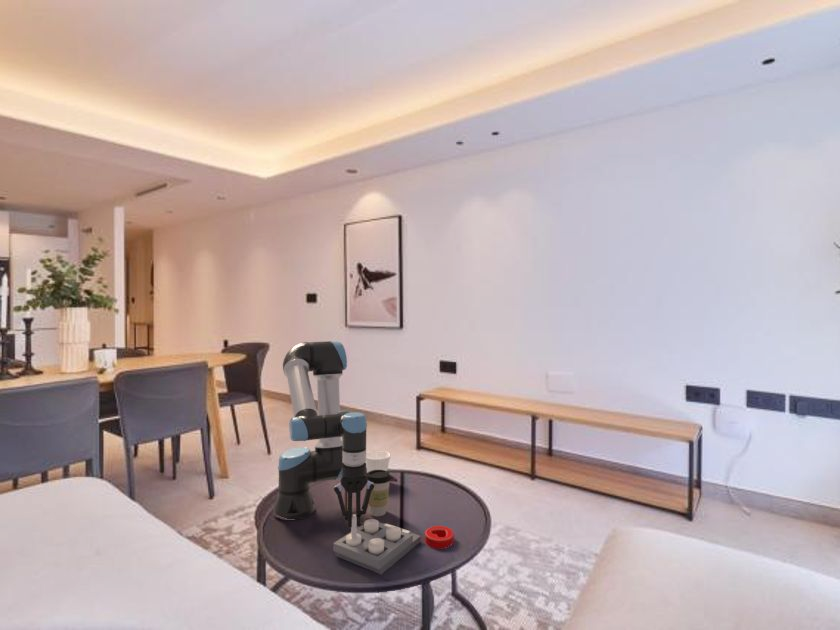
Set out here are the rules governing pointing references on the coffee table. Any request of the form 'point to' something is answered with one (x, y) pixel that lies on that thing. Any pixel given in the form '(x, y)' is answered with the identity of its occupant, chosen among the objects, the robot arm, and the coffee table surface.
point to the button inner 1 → (353, 540)
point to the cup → (377, 460)
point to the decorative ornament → (439, 537)
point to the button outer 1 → (376, 546)
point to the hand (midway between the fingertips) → (353, 536)
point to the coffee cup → (378, 491)
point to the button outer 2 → (393, 534)
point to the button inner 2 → (371, 526)
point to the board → (374, 562)
